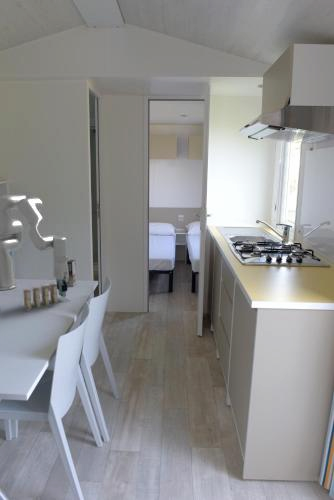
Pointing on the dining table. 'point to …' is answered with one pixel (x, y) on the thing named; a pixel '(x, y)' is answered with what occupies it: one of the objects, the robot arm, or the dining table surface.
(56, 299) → the domino
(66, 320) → the dining table surface
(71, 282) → the coffee box
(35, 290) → the domino
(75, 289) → the dining table surface
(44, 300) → the domino
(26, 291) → the domino
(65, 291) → the teal domino
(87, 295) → the dining table surface
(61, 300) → the slate mat
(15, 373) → the dining table surface
